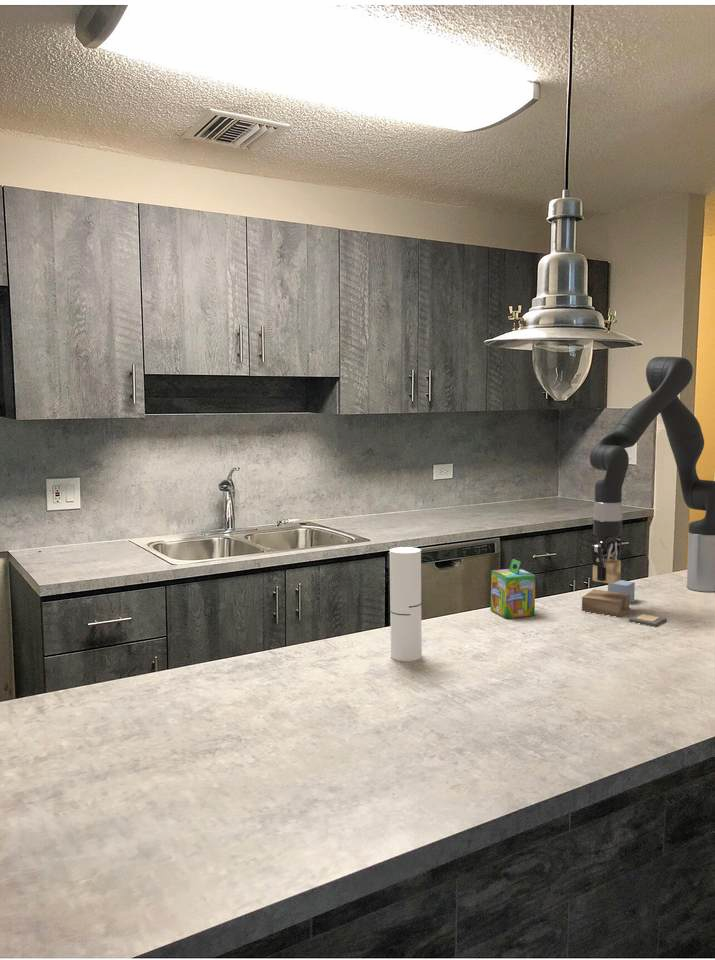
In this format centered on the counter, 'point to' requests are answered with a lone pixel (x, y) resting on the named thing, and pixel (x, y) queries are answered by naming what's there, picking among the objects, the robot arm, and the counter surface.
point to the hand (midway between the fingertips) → (606, 578)
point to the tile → (647, 619)
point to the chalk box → (513, 592)
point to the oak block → (610, 571)
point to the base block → (605, 602)
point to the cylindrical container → (405, 603)
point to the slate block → (623, 588)
